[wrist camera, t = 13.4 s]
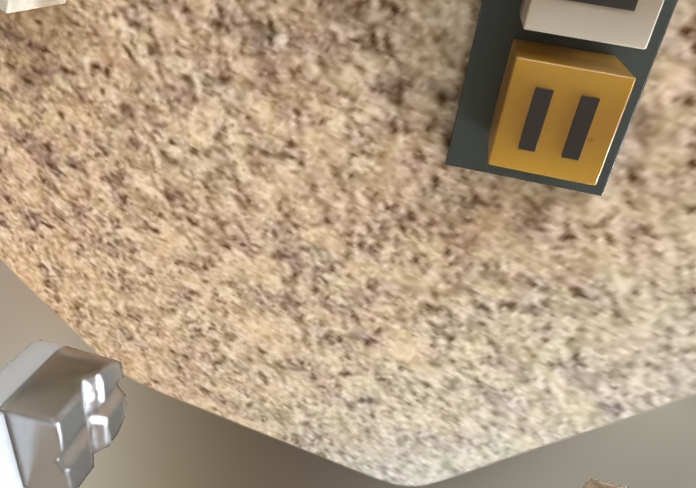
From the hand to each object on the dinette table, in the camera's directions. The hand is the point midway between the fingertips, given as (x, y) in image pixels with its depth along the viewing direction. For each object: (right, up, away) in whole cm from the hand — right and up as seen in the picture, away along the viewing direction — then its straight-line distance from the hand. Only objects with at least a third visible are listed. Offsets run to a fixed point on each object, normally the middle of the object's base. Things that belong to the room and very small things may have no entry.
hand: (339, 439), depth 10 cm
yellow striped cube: (+10, +10, +17) cm, 22 cm away
